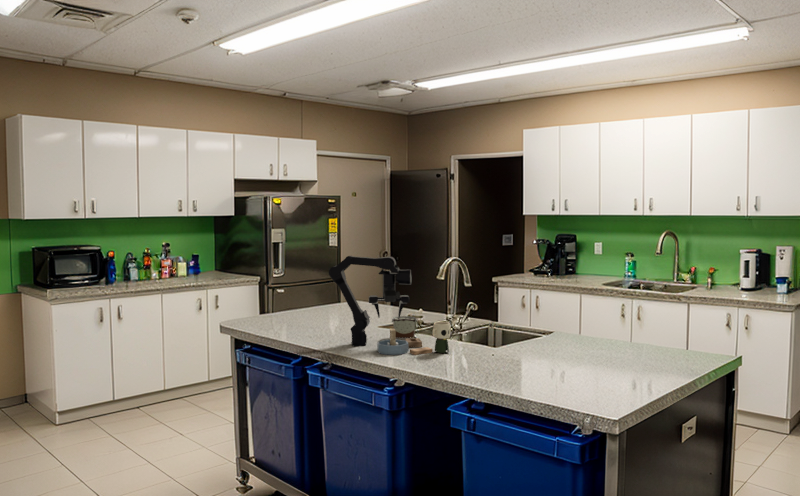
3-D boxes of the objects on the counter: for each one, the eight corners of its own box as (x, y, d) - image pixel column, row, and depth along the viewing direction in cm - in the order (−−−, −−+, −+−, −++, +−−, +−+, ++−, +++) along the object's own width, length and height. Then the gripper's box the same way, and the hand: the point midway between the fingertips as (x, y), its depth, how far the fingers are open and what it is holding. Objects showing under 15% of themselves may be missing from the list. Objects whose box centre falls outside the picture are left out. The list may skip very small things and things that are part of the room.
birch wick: (391, 350, 266) (391, 330, 266) (389, 348, 271) (389, 328, 270) (395, 350, 266) (395, 330, 266) (394, 348, 271) (394, 328, 270)
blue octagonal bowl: (379, 355, 261) (379, 346, 261) (376, 348, 274) (376, 340, 274) (409, 354, 263) (409, 345, 263) (405, 347, 276) (405, 339, 276)
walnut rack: (407, 347, 277) (407, 342, 277) (405, 343, 285) (405, 338, 284) (421, 347, 278) (421, 341, 277) (419, 343, 285) (419, 338, 285)
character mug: (438, 355, 260) (438, 325, 260) (427, 353, 266) (427, 323, 265) (456, 351, 268) (456, 322, 267) (444, 349, 273) (444, 320, 272)
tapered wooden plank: (415, 355, 262) (415, 351, 262) (409, 354, 266) (409, 349, 266) (432, 353, 267) (432, 348, 267) (426, 351, 271) (426, 347, 270)
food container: (417, 336, 303) (417, 316, 303) (417, 338, 297) (416, 318, 297) (393, 335, 304) (393, 315, 304) (391, 338, 298) (391, 317, 298)
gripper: (369, 286, 271) (369, 321, 272) (411, 286, 273) (410, 320, 274) (368, 283, 282) (368, 316, 283) (408, 283, 284) (408, 316, 285)
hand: (388, 317), depth 281 cm, fingers open, 9 cm apart
